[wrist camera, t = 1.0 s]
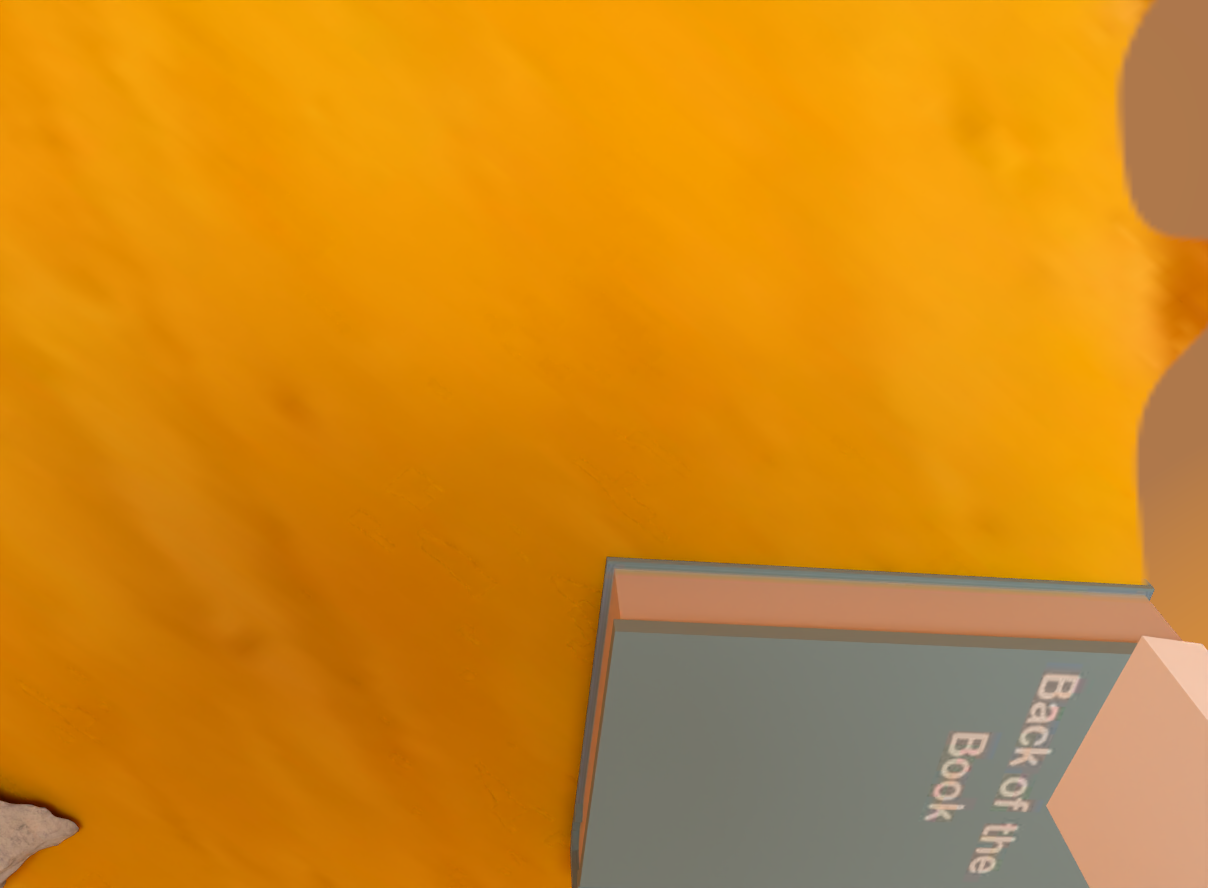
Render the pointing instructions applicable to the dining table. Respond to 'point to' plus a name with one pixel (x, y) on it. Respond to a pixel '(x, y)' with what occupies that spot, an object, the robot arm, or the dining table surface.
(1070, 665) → the book
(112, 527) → the dining table surface
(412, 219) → the dining table surface
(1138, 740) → the robot arm
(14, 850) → the stone
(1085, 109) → the dining table surface
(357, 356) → the dining table surface
